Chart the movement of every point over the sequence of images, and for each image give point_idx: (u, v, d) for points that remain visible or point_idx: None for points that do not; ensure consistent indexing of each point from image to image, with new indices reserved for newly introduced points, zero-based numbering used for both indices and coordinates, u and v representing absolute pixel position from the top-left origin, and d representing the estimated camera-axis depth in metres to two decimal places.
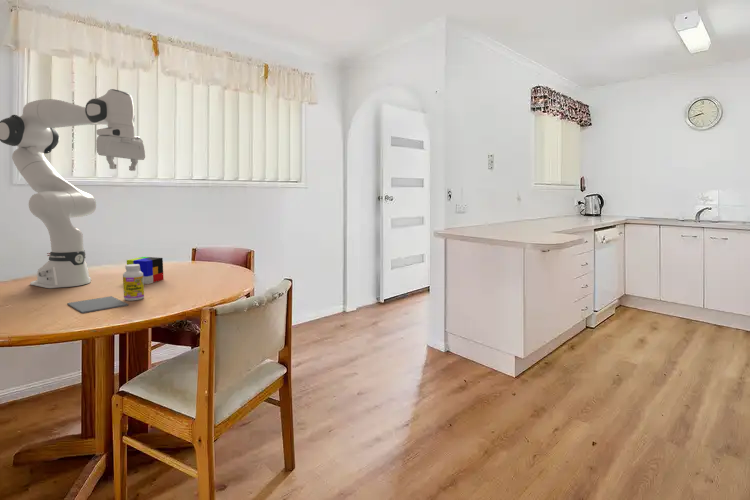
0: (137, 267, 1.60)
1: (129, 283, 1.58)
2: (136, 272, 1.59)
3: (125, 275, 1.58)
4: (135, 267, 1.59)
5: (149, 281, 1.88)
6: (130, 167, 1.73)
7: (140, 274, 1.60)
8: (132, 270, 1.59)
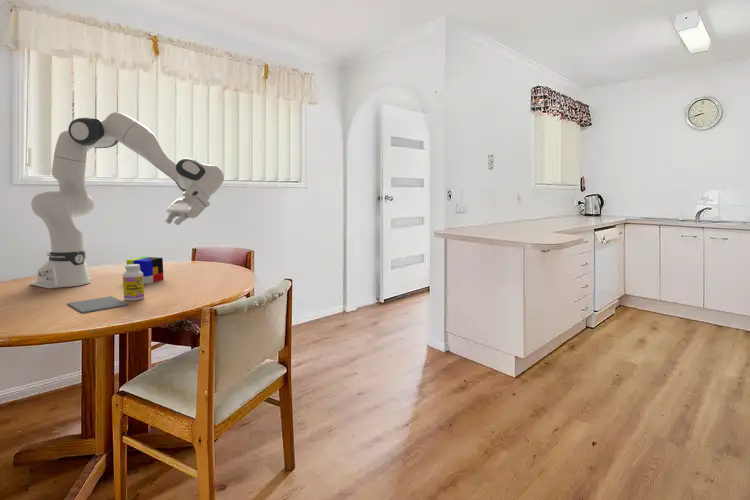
0: (137, 267, 1.60)
1: (129, 283, 1.58)
2: (136, 272, 1.59)
3: (125, 275, 1.58)
4: (135, 267, 1.59)
5: (149, 281, 1.88)
6: (169, 220, 1.73)
7: (140, 274, 1.60)
8: (132, 270, 1.59)
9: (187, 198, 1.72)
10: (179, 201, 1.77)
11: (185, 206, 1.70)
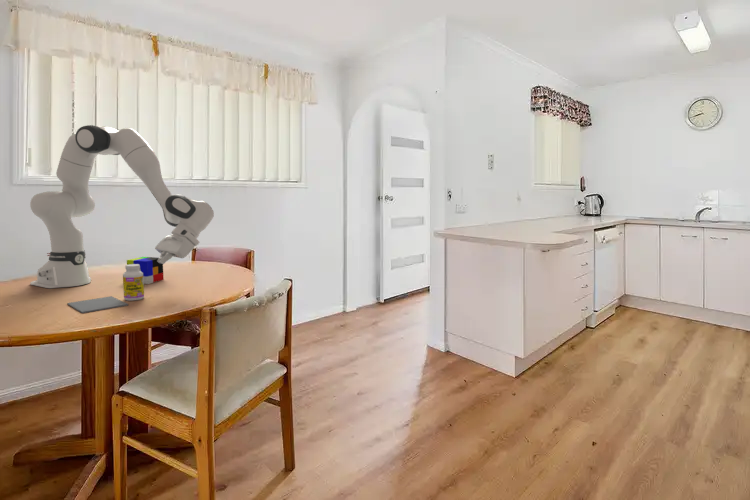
0: (137, 267, 1.59)
1: (129, 283, 1.58)
2: (136, 272, 1.59)
3: (125, 275, 1.58)
4: (135, 267, 1.59)
5: (149, 281, 1.88)
6: None
7: (140, 274, 1.60)
8: (132, 270, 1.59)
9: (176, 237, 1.70)
10: (168, 239, 1.74)
11: (174, 245, 1.68)
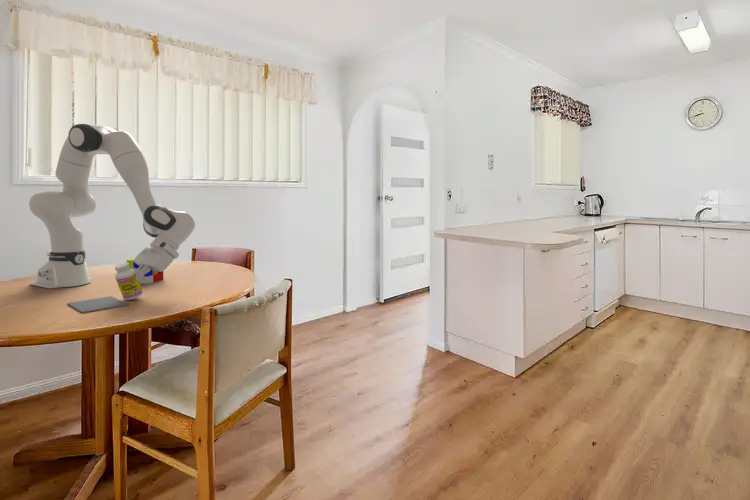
0: (127, 266, 1.57)
1: (123, 284, 1.56)
2: (127, 271, 1.57)
3: (117, 277, 1.56)
4: (124, 267, 1.56)
5: (149, 281, 1.88)
6: None
7: (132, 273, 1.58)
8: (123, 271, 1.56)
9: (155, 249, 1.64)
10: (147, 251, 1.69)
11: (152, 258, 1.62)
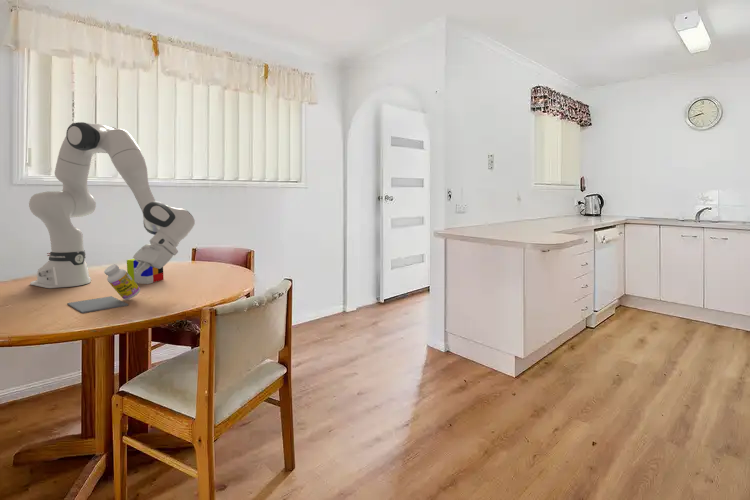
0: (115, 269, 1.54)
1: (117, 286, 1.55)
2: (117, 273, 1.54)
3: (109, 281, 1.54)
4: (113, 270, 1.53)
5: (149, 281, 1.88)
6: None
7: (122, 273, 1.55)
8: (113, 274, 1.54)
9: (154, 246, 1.64)
10: (146, 248, 1.68)
11: (151, 255, 1.61)
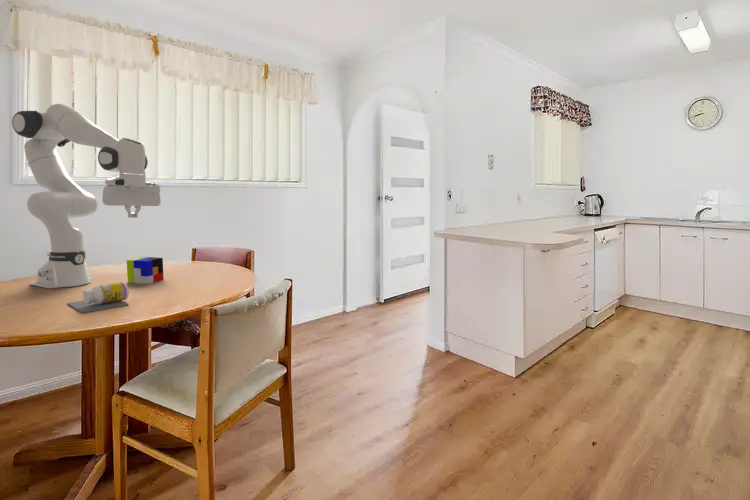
0: (91, 296, 1.47)
1: (108, 302, 1.52)
2: (96, 297, 1.49)
3: (97, 304, 1.51)
4: (90, 299, 1.47)
5: (149, 281, 1.88)
6: None
7: (100, 294, 1.49)
8: (93, 300, 1.49)
9: None
10: None
11: None
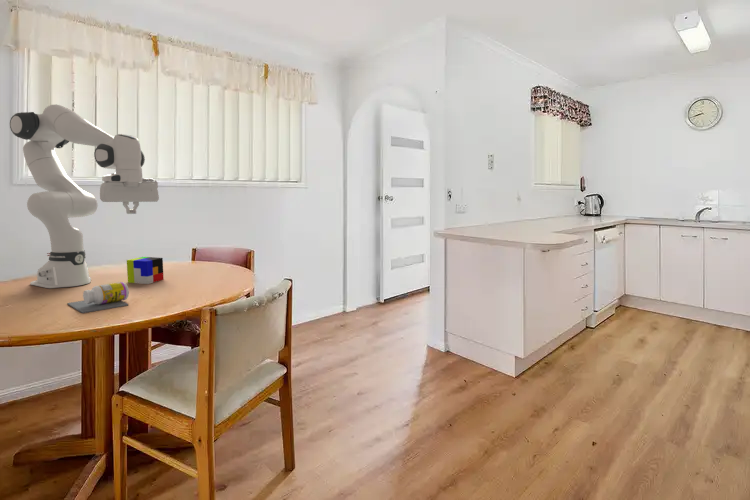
0: (91, 296, 1.47)
1: (108, 302, 1.52)
2: (96, 297, 1.49)
3: (97, 304, 1.51)
4: (90, 299, 1.47)
5: (149, 281, 1.88)
6: None
7: (100, 294, 1.49)
8: (93, 300, 1.49)
9: None
10: None
11: None
